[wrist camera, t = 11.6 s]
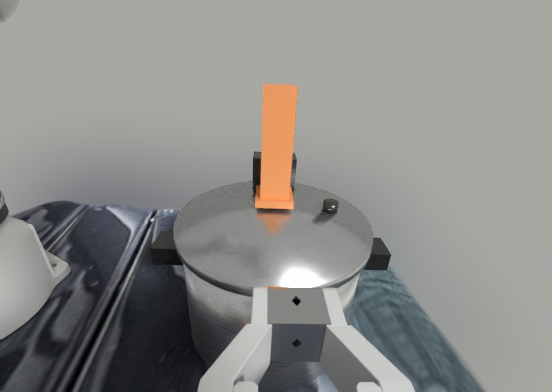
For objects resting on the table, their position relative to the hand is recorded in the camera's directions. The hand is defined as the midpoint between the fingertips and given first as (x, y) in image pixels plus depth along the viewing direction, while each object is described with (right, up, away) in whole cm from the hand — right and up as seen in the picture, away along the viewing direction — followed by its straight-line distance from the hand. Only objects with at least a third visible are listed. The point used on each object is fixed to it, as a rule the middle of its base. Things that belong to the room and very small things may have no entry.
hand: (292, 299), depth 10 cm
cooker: (-1, -10, +23) cm, 25 cm away
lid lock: (-1, +3, +20) cm, 20 cm away
